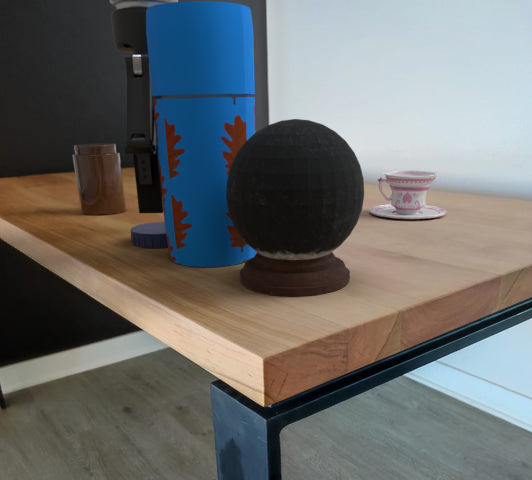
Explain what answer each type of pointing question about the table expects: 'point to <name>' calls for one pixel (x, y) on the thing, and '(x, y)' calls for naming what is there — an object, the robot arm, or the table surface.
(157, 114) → the thermos
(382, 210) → the teacup
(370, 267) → the table surface
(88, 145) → the jar
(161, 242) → the lid
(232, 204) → the black crystal ball
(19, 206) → the table surface
